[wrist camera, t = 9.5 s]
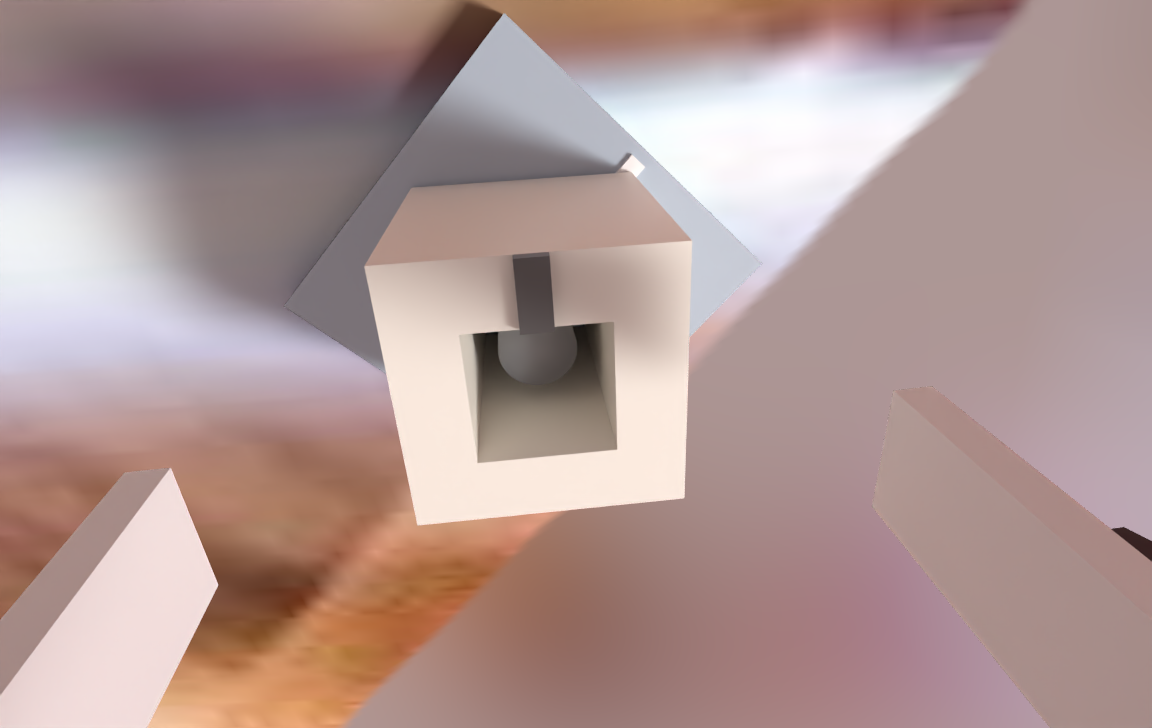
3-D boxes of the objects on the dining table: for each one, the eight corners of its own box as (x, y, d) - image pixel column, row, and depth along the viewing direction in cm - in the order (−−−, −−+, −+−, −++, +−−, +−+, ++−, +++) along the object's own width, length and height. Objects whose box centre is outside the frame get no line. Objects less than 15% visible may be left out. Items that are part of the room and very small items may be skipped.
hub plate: (293, 294, 24) (222, 380, 18) (503, 14, 21) (506, 2, 15) (545, 463, 28) (558, 579, 22) (751, 254, 25) (832, 321, 19)
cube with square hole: (443, 382, 25) (416, 532, 17) (411, 187, 21) (361, 271, 14) (633, 365, 25) (687, 505, 18) (631, 172, 22) (695, 244, 14)
